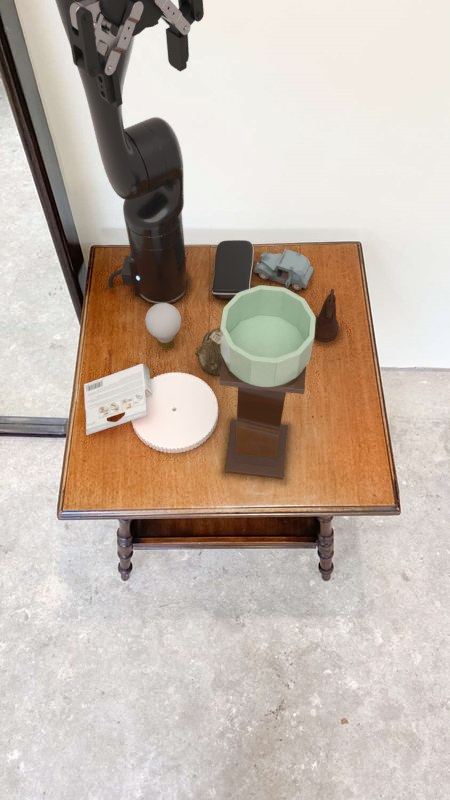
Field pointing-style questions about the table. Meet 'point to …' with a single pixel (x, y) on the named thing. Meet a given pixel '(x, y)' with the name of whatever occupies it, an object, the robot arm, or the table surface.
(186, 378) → the plastic lid
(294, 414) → the table surface
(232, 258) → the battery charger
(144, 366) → the ink box
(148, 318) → the light bulb
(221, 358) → the fossilized seashell
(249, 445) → the green pedestal cup
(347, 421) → the table surface
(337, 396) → the table surface
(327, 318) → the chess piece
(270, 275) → the toy car
